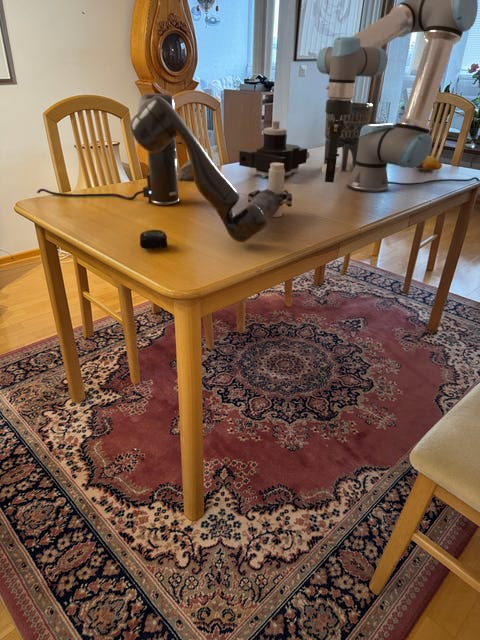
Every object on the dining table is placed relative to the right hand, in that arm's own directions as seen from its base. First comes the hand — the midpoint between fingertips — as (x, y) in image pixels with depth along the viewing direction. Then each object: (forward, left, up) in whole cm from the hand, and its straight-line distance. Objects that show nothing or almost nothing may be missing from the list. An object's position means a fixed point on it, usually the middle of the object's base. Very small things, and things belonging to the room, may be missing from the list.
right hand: (329, 179), depth 144 cm
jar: (+17, +6, -10) cm, 21 cm away
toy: (-52, -72, -10) cm, 90 cm away
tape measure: (+48, +40, -10) cm, 63 cm away
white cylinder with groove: (0, 0, +4) cm, 4 cm away
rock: (+50, -38, -10) cm, 63 cm away
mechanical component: (+15, -54, -10) cm, 57 cm away
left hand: (+16, +4, -4) cm, 17 cm away
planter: (-14, -72, -10) cm, 74 cm away
